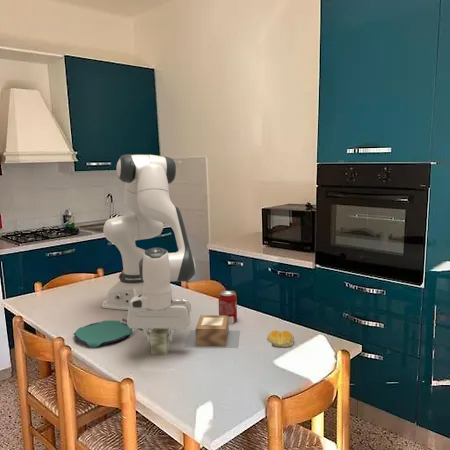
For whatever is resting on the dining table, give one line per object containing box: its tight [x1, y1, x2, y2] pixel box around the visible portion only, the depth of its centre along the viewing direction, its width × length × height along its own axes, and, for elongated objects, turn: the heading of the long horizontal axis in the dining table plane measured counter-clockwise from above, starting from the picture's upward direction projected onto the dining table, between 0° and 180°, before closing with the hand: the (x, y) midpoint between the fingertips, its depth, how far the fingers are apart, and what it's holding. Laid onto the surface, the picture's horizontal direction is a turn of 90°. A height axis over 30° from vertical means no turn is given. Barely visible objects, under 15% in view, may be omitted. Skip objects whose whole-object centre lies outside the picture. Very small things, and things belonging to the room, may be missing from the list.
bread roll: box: [267, 330, 295, 348], centre depth 147 cm, size 8×9×4 cm
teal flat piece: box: [73, 317, 143, 349], centre depth 160 cm, size 20×30×2 cm, turn 133°
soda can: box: [218, 290, 238, 325], centre depth 164 cm, size 7×7×12 cm
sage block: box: [149, 328, 171, 356], centre depth 140 cm, size 5×5×8 cm
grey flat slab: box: [183, 329, 241, 349], centre depth 150 cm, size 18×14×1 cm
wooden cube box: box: [194, 314, 230, 346], centre depth 149 cm, size 10×12×6 cm
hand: (160, 340), depth 140 cm, fingers closed on sage block, 5 cm apart
